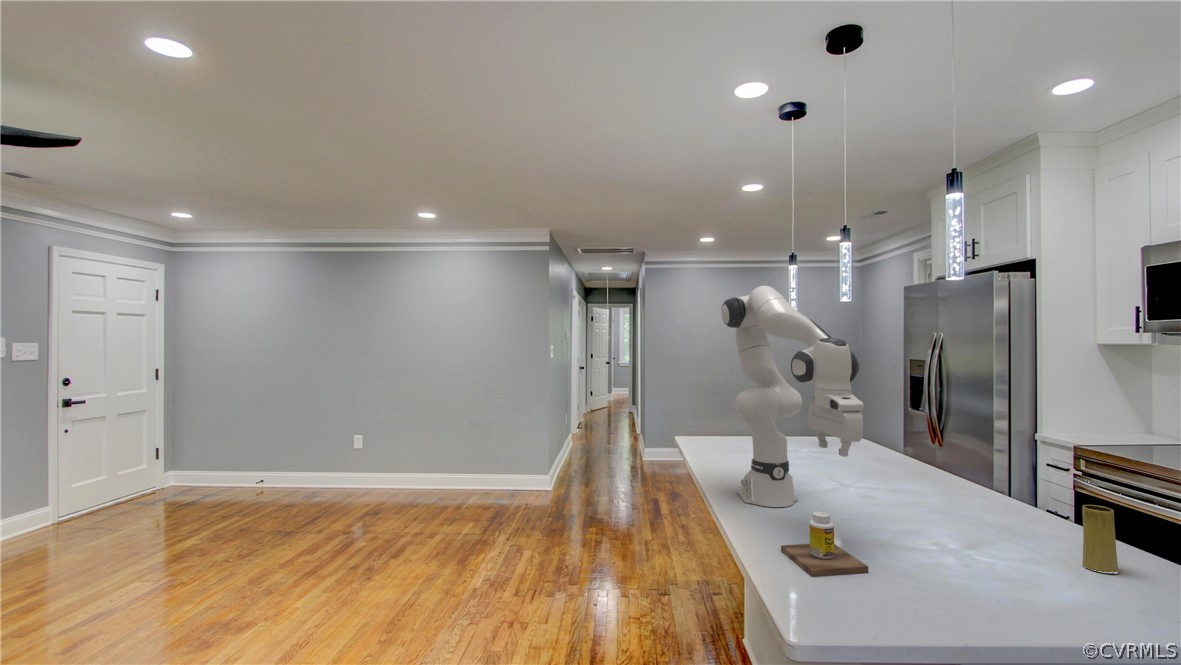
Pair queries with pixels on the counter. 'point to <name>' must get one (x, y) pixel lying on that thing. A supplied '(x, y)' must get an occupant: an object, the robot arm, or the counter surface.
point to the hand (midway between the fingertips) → (832, 451)
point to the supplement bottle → (821, 535)
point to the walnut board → (824, 561)
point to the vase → (1099, 539)
